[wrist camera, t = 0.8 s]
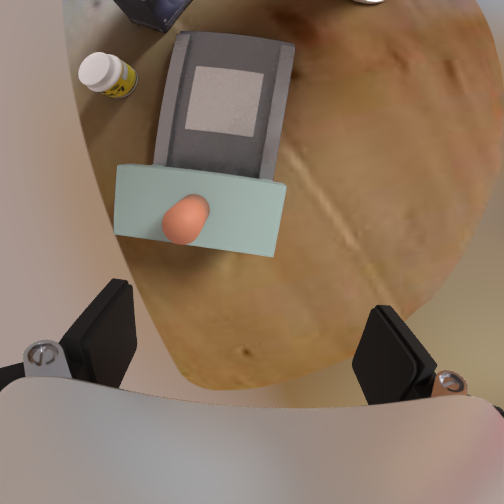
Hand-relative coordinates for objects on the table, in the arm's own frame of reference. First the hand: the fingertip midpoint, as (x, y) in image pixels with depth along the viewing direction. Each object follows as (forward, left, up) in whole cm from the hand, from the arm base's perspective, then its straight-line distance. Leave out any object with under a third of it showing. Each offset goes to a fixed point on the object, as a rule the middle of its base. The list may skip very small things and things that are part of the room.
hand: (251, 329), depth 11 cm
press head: (-1, -5, -24) cm, 25 cm away
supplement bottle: (-14, -19, -27) cm, 36 cm away
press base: (-8, -5, -27) cm, 29 cm away
